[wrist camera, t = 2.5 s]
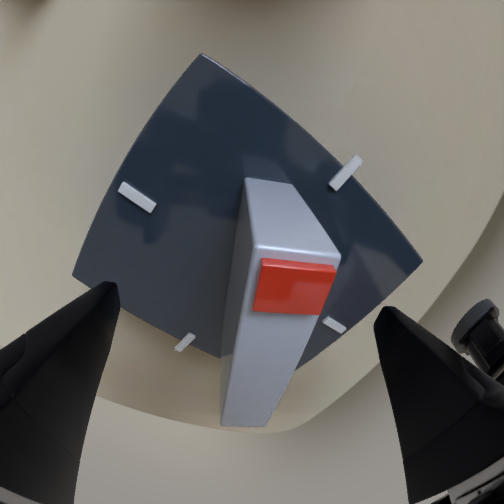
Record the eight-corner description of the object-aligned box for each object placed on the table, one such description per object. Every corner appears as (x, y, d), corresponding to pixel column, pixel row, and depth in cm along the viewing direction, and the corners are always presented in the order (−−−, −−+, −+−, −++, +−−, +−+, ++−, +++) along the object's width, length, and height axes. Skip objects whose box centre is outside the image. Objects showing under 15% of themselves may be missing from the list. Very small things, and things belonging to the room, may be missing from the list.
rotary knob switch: (401, 224, 13) (434, 254, 10) (266, 349, 17) (271, 389, 14) (219, 56, 9) (213, 36, 6) (93, 251, 13) (66, 286, 10)
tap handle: (256, 337, 12) (266, 433, 8) (221, 335, 12) (219, 432, 8) (294, 184, 8) (349, 262, 4) (244, 176, 8) (255, 252, 4)
